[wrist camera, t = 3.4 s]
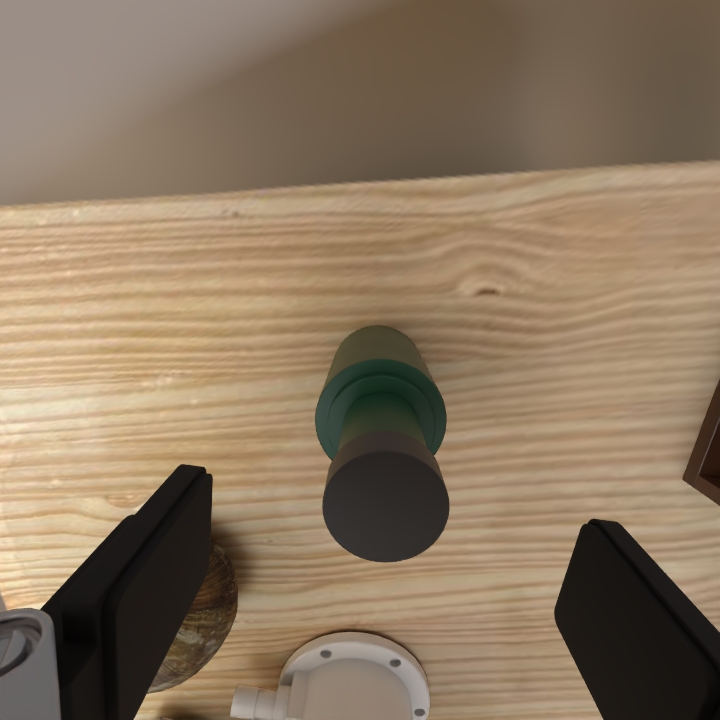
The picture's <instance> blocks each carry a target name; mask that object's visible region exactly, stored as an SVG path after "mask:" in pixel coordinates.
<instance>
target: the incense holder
mask: <svg viewBox="0 0 720 720" xmlns="http://www.w3.org/2000/svg"><path fill="white" fill-rule="evenodd" d="M157 720H173V719H170V718H166V717H161V718H158V719H157Z"/></svg>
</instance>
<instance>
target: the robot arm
mask: <svg viewBox="0 0 720 720" xmlns="http://www.w3.org/2000/svg"><path fill="white" fill-rule="evenodd" d="M212 483H213V477H212V475H211V474H207V473H206V469H205V468H204V467H200V466H192V465H185V464H181V465H180V466H178V467H177V468H176V470H175V471H174V472H173V473H172V474H171V475H170V476H169V477H168V478H167V480H166V481H165V482H164V483H163V484H162V485H161V486H160V487H159V489H158V490H157V491H156V492H155V493H154V494H153V495H152V496H151V497H150V499H149V500H148V501H147V502H146V503H145V504H144V505H143V506H142V507H141V509H140V510H139V511H138V512H137V513H136V514H135V515H130V516H127V517H126V518H125V519H124V520H123V521H122V522H121V523H120V524H119V525H118V526H117V527H116V528H115V529H114V530H113V531H112V532H111V533H110V535H109V536H108V537H107V538H106V539H105V540H104V541H103V542H102V543H101V544H100V545H99V546H98V547H97V549H96V550H95V551H94V552H93V553H92V554H91V555H90V556H89V557H88V558H87V559H86V560H85V562H84V563H83V564H82V565H81V566H80V567H79V568H78V569H77V570H76V571H75V572H74V573H73V574H72V576H71V577H70V578H69V579H68V580H67V581H66V582H65V583H64V584H63V585H62V586H61V587H60V589H59V590H58V591H57V592H56V593H55V594H54V595H53V596H52V597H51V598H50V599H49V600H48V601H47V603H46V604H45V605H44V606H43V607H42V608H41V609H40V610H38V609H33V608H21V609H13V610H9V611H5V612H1V613H0V720H134V718H135V716H136V714H137V712H138V710H139V708H140V706H141V704H142V702H143V700H144V698H145V696H146V694H147V692H148V690H149V688H150V686H151V684H152V682H153V680H154V678H155V676H156V674H157V672H158V670H159V668H160V666H161V665H162V663H163V661H164V659H165V657H166V655H167V653H168V651H169V649H170V647H171V645H172V643H173V641H174V639H175V637H176V635H177V633H178V631H179V629H180V627H181V625H182V623H183V621H184V619H185V617H186V615H187V613H188V611H189V609H190V607H191V605H192V604H193V602H194V600H195V598H196V596H197V594H198V592H199V590H200V588H201V586H202V584H203V582H204V580H205V578H206V575H207V572H208V567H209V558H210V533H211V508H212ZM554 615H555V621H556V624H557V627H558V629H559V631H560V633H561V635H562V637H563V639H564V641H565V643H566V645H567V647H568V649H569V651H570V653H571V655H572V657H573V659H574V661H575V663H576V665H577V667H578V669H579V671H580V673H581V675H582V677H583V679H584V681H585V683H586V685H587V687H588V689H589V691H590V693H591V695H592V697H593V699H594V701H595V703H596V705H597V707H598V709H599V711H600V713H601V715H602V717H603V719H604V720H720V632H719V631H718V630H717V629H716V628H715V627H714V626H713V625H712V624H711V623H710V622H709V620H708V619H707V618H706V617H705V616H704V615H703V614H702V613H701V612H700V611H699V610H698V608H697V607H696V606H695V605H694V604H693V603H692V602H691V601H690V600H689V599H688V597H687V596H686V595H685V594H684V593H683V592H682V591H681V590H680V589H679V588H678V587H677V585H676V584H675V583H674V582H673V581H672V580H671V579H670V578H669V577H668V576H667V575H666V573H665V572H664V571H663V570H662V569H661V568H660V567H659V566H658V565H657V564H656V563H655V561H654V560H653V559H652V558H651V557H650V556H649V555H648V554H647V553H646V552H645V550H644V549H643V548H642V547H641V546H640V545H639V544H638V543H637V542H636V541H635V540H634V538H633V537H632V536H631V535H630V534H629V533H628V532H627V531H626V530H625V529H624V528H623V526H622V525H620V524H619V523H618V522H614V521H606V520H599V519H591V520H590V521H589V522H588V524H584V525H583V526H582V527H581V529H580V532H579V535H578V538H577V542H576V545H575V548H574V551H573V554H572V557H571V560H570V563H569V566H568V569H567V572H566V575H565V578H564V581H563V584H562V587H561V590H560V593H559V597H558V600H557V603H556V606H555V610H554ZM429 708H430V696H429V687H428V682H427V678H426V675H425V673H424V671H423V669H422V667H421V665H420V664H419V663H418V662H417V660H416V659H415V658H414V656H412V655H411V654H410V653H409V652H408V651H407V650H405V649H404V648H403V647H401V646H399V645H398V644H396V643H394V642H393V641H391V640H388V639H385V638H383V637H380V636H377V635H372V634H368V633H362V632H342V633H333V634H329V635H326V636H322V637H319V638H317V639H315V640H312V641H310V642H308V643H306V644H305V645H304V646H302V647H301V648H299V649H298V650H297V651H296V652H295V653H294V654H293V655H292V656H291V657H290V658H289V659H288V661H287V662H286V664H285V666H284V667H283V669H282V672H281V676H280V679H279V684H278V690H277V691H275V690H268V689H260V687H254V686H246V685H237V688H236V691H235V694H234V698H233V702H232V707H231V714H230V715H231V717H236V718H244V719H249V720H426V719H427V717H428V714H429Z"/></svg>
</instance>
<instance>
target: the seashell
mask: <svg viewBox="0 0 720 720" xmlns="http://www.w3.org/2000/svg"><path fill="white" fill-rule="evenodd" d="M237 607H238V585H237V578H236V573H235V569H234V566H233V564H232V561H231V560H230V558H229V556H228V555H227V553H226V552H225V551H224V550H223V549H222V548H221V547H220V546H219V545H218V544H217V543H215V542H214V541H212V540H210V558H209V567H208V572H207V575H206V578H205V580H204V582H203V584H202V586H201V588H200V590H199V592H198V594H197V596H196V598H195V600H194V602H193V604H192V605H191V607H190V609H189V611H188V613H187V615H186V617H185V619H184V621H183V623H182V625H181V627H180V629H179V631H178V633H177V635H176V637H175V639H174V641H173V643H172V645H171V647H170V649H169V651H168V653H167V655H166V657H165V659H164V661H163V663H162V665H161V666H160V668H159V670H158V672H157V674H156V676H155V678H154V680H153V682H152V684H151V686H150V688H149V690H148V692H147V694H149V693H154V692H161V691H163V690H166V689H169V688H172V687H174V686H176V685H179V684H181V683H183V682H184V681H186V680H187V679H189V678H190V677H192V676H193V675H195V674H196V673H197V672H198V671H199V670H200V669H201V668H203V667H204V666H205V665H206V664H207V663H208V662H209V661H210V660H211V658H212V657H213V656H214V655H215V654H216V652H217V651H218V650H219V648H220V647H221V645H222V644H223V642H224V640H225V639H226V637H227V636H228V634H229V632H230V630H231V627H232V625H233V622H234V619H235V617H236V613H237Z"/></svg>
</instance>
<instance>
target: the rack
mask: <svg viewBox="0 0 720 720" xmlns="http://www.w3.org/2000/svg"><path fill="white" fill-rule="evenodd" d="M683 480H684V481H685V482H687V483H688V484H689V485H691V486H692V487H694V488H695V489H697V490H698V491H700V492H701V493H702V494H704V495H705V496H707V497H708V498H709V499H711V500H712V501H714V502H715V503H716V504H718V505H719V506H720V381H719V384H718V386H717V389H716V392H715V394H714V397H713V400H712V402H711V405H710V408H709V410H708V413H707V416H706V418H705V421H704V424H703V426H702V429H701V432H700V434H699V437H698V440H697V442H696V445H695V448H694V450H693V453H692V456H691V458H690V461H689V464H688V466H687V469H686V472H685V474H684V477H683Z"/></svg>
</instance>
